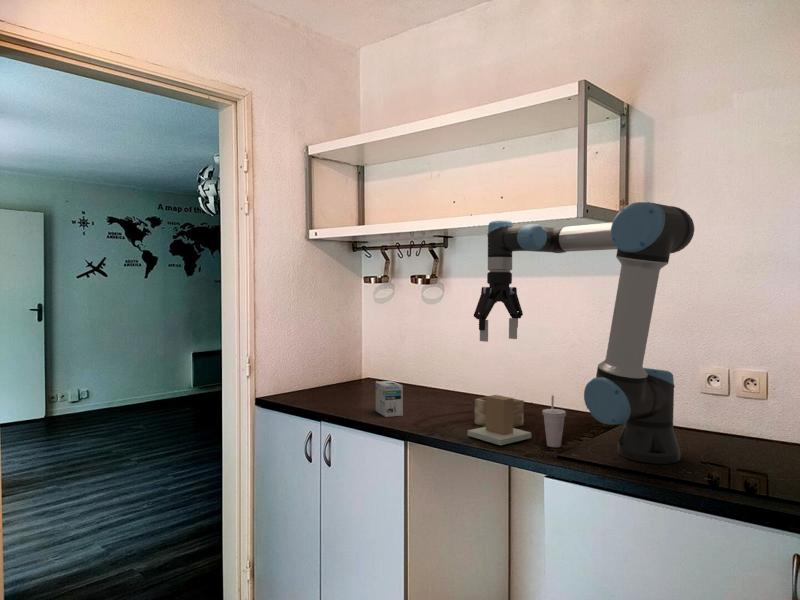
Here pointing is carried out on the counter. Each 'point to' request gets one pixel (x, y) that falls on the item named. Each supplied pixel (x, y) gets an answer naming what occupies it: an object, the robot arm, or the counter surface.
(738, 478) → the counter surface
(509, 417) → the lid
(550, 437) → the smoothie
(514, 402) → the box
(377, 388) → the light bulb box
